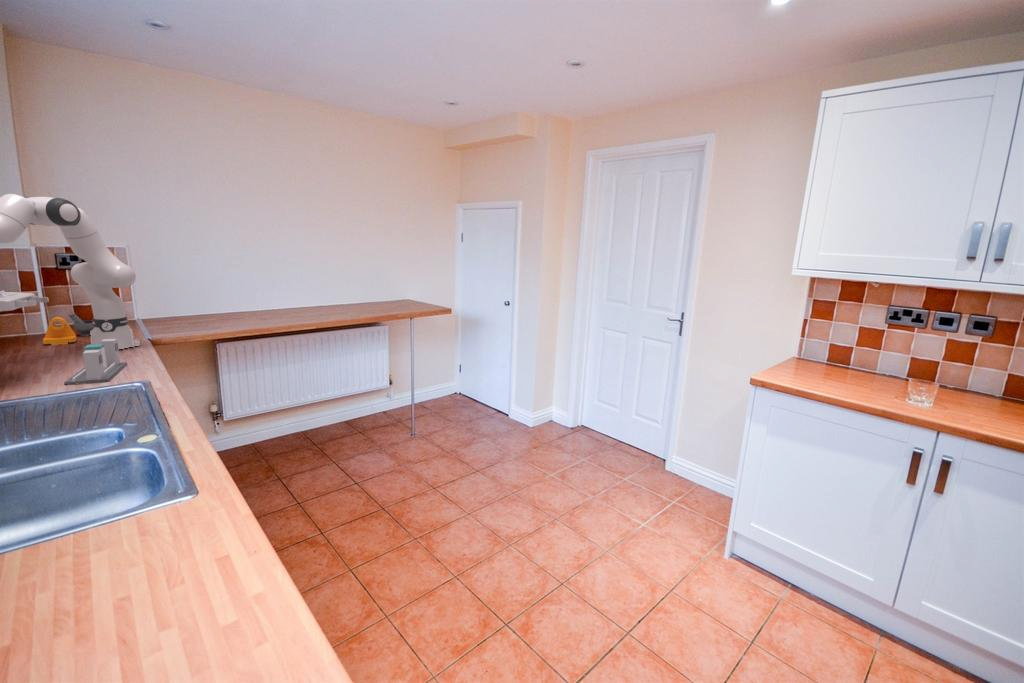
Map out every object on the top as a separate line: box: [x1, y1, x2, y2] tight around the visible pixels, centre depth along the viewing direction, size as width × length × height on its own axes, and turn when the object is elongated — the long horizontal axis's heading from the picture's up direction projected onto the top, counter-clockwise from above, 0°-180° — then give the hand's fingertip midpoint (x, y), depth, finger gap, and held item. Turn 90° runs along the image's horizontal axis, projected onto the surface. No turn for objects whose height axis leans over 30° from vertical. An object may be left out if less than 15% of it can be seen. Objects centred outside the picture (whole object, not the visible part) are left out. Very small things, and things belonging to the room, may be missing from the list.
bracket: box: [42, 316, 77, 346], centre depth 217 cm, size 11×7×12 cm, turn 128°
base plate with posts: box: [63, 339, 128, 386], centre depth 174 cm, size 25×12×11 cm, turn 27°
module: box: [83, 344, 107, 371], centre depth 174 cm, size 5×5×10 cm
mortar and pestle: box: [68, 312, 94, 337], centre depth 234 cm, size 11×9×12 cm
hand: (42, 301), depth 164 cm, fingers open, 8 cm apart
